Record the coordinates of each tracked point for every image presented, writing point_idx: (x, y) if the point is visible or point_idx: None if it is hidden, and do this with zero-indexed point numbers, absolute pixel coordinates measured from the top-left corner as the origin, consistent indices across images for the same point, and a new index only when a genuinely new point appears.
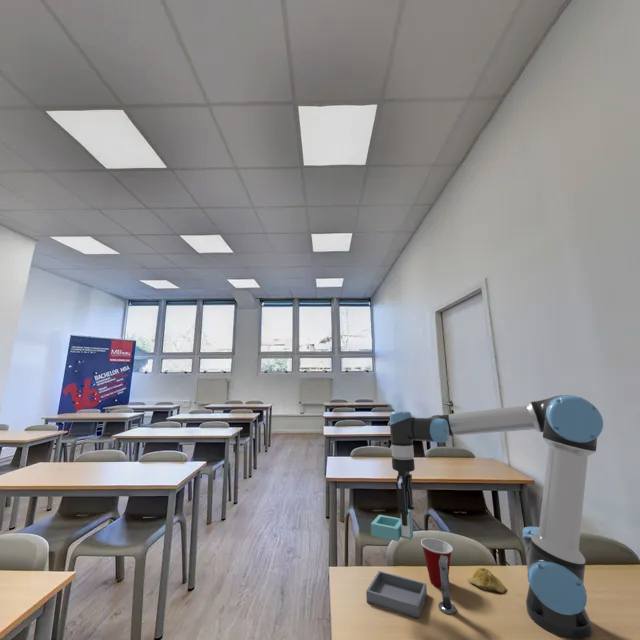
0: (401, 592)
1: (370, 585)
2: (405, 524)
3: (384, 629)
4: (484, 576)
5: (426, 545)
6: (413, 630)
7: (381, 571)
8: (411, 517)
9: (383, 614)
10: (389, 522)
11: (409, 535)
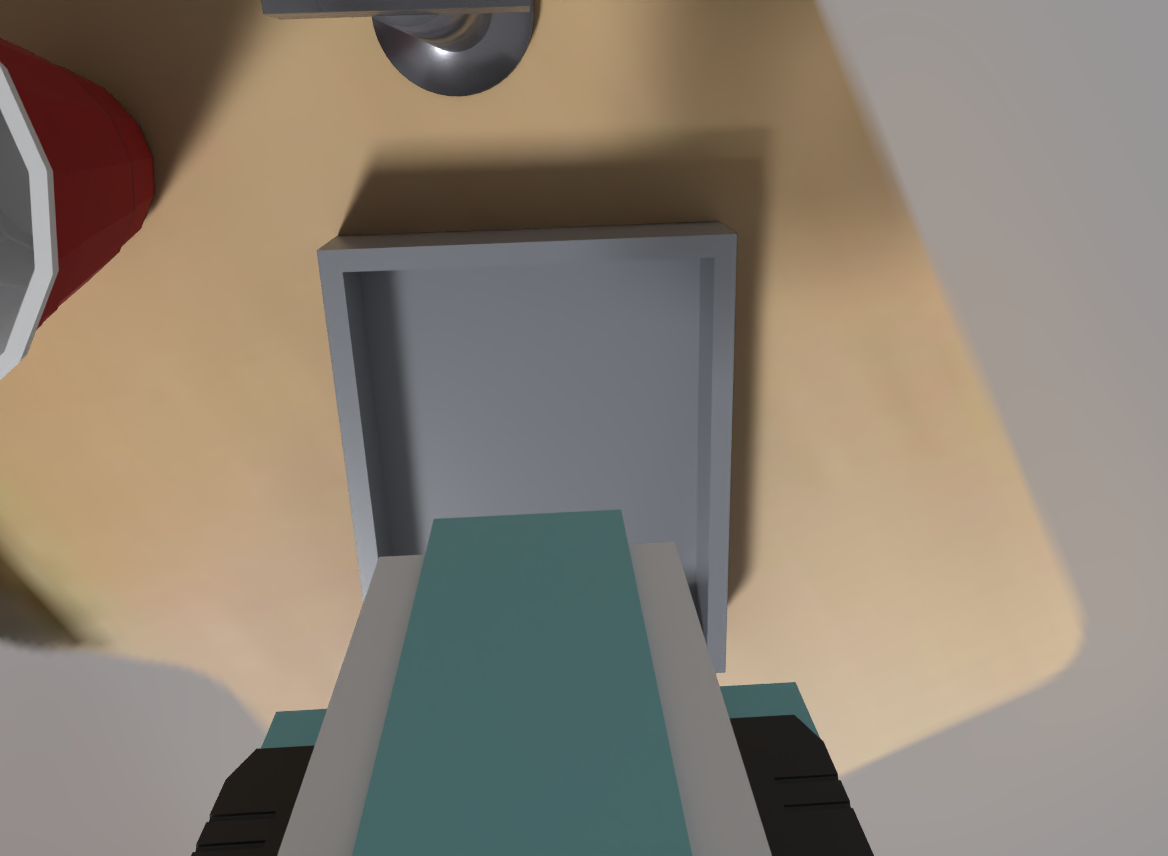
0: (464, 439)
1: None
2: (817, 763)
3: (944, 421)
4: None
5: None
6: (869, 229)
7: None
8: (438, 764)
9: (790, 479)
10: None
11: (678, 566)
